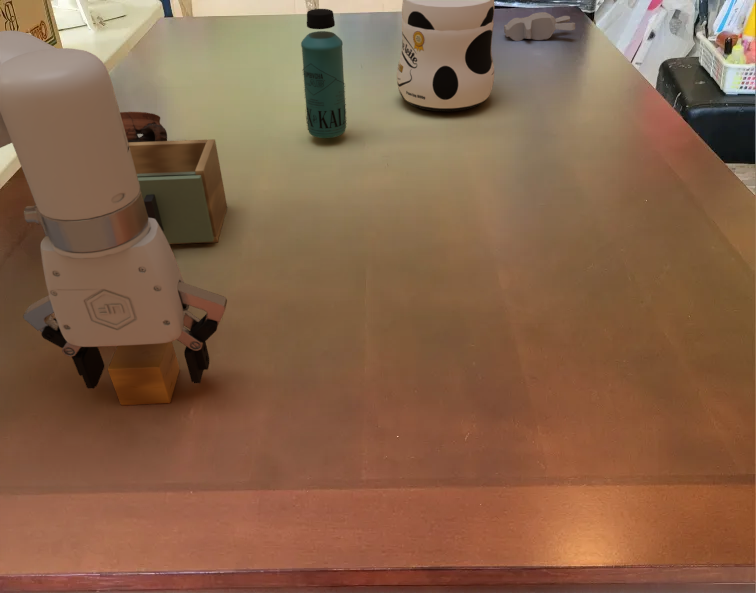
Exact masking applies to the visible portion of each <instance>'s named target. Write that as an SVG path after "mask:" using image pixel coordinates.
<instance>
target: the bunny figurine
mask: <svg viewBox="0 0 756 593" xmlns="http://www.w3.org/2000/svg"><path fill="white" fill-rule="evenodd" d="M570 21H571V16H570V15H562V16H559V17H555V16H553V15H552V14H551V13H549V12H545V11H544V12H542V11H541V12H534V13H532V14H530V15H528V16H525V17H514V18H512V19H511V20H509V21H508V23H507V24H504V25H503V32H504V34H505V37H507V38H508V37H509V38H510V39H511V40H513V41H516V42H519V41H522V40H524V39H528V40H534V41H543V40H546V41H547V40H549V39H550V38H551V37H552V35H553V34H554V32H555V31H556V30H558V31H559V30H560V31H575V30H576V23H575V22H570Z"/></svg>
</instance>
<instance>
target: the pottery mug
mask: <svg viewBox="0 0 756 593" xmlns="http://www.w3.org/2000/svg"><path fill="white" fill-rule="evenodd" d="M120 114H121V118H122V122H123V126H124V129H125V133H126V137H127V140H128V142H155V141H168V132H167V130H166V128H165V127H164V126H163V125H162V123H161V116H159V115H158V114H155V113H153V112H145V111H120ZM139 135H141V136H140V137H139Z"/></svg>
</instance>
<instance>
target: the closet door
mask: <svg viewBox="0 0 756 593" xmlns="http://www.w3.org/2000/svg"><path fill="white" fill-rule="evenodd" d="M138 181H139V185H140V189H141V192H142V196H143V200H144V203H145V207H146V211H147V215H148V218H154V219H155V220H156V221H157V223H158V224H159V226H160V228H161V230H162V231H163V233H164V235H165V237H166V239H167V241H168V243H169V245H171V244H170V243H189V244H195V243H194V242H213V240H214V236H213V231H212V226H211V221H210V216H209V212H208V207H207V202H206V197H205V192H204V187H203V182H202V177H201V175H193V176H167V177H141V178H138ZM213 243H214V242H213Z"/></svg>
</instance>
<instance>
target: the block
mask: <svg viewBox="0 0 756 593" xmlns="http://www.w3.org/2000/svg"><path fill="white" fill-rule="evenodd" d="M180 370H181V369H180V365H179V361H178V358H177V354H176V350H175V348H174V344H173V341H171V342H168V343H160V344H143V345H122V346H116V348H115V350H114V353H113V356H112V358H111V361H110V363H109V364H108V368H107V371H108V375H109V377H110V379H111V382H112V386H113V388H114V391H115V394H116V396H117V399H118V401H119V404H120V406H133V405H155V404H156V405H157V404H170V403H171V401H172V398H173V394H174V391H175V387H176V383H177V380H178V377H179V374H180V373H179V372H180Z"/></svg>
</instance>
